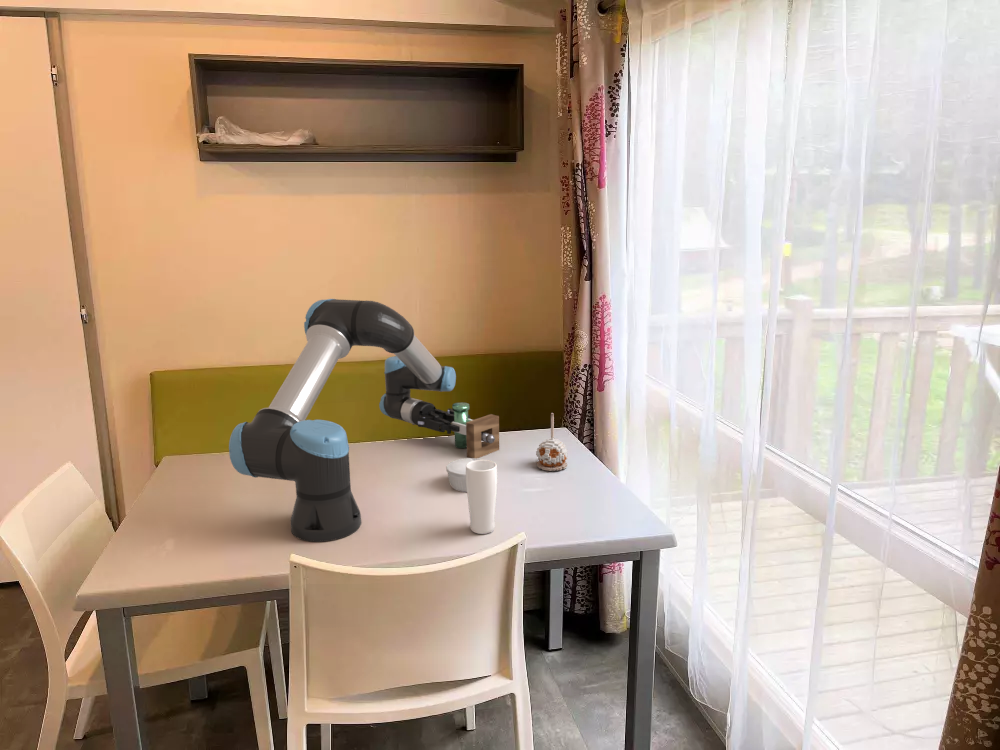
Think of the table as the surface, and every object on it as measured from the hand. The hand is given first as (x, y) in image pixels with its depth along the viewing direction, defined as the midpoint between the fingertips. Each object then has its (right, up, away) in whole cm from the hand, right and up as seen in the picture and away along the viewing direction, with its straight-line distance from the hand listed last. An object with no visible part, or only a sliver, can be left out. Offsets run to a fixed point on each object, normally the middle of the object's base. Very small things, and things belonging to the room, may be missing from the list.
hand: (474, 428), depth 206 cm
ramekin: (-1, -13, -22) cm, 25 cm away
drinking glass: (+3, -19, -46) cm, 50 cm away
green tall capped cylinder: (0, -6, +2) cm, 6 cm away
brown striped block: (+2, -7, 0) cm, 7 cm away
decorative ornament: (+21, -10, -11) cm, 26 cm away
